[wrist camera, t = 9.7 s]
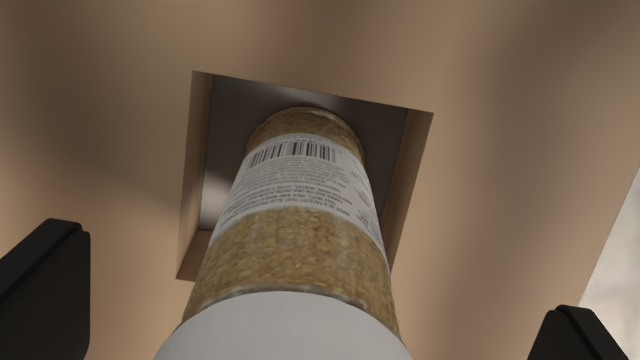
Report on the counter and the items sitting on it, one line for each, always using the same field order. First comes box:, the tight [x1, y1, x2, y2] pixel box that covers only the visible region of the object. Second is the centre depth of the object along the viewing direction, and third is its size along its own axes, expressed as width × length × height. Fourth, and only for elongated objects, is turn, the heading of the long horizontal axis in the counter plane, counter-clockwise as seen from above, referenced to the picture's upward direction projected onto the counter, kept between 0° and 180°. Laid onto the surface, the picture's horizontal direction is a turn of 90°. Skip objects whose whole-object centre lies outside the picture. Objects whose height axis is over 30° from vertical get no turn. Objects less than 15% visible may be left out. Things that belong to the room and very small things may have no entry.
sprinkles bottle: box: [153, 107, 413, 360], centre depth 13 cm, size 5×5×13 cm
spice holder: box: [0, 0, 640, 360], centre depth 18 cm, size 20×16×4 cm
